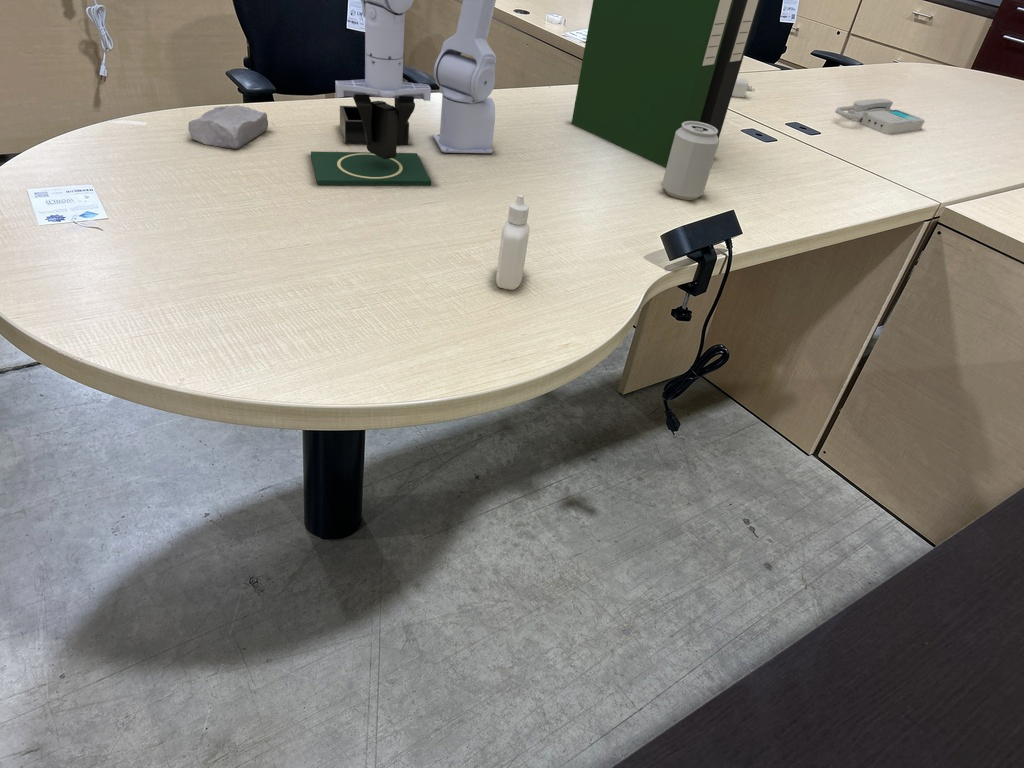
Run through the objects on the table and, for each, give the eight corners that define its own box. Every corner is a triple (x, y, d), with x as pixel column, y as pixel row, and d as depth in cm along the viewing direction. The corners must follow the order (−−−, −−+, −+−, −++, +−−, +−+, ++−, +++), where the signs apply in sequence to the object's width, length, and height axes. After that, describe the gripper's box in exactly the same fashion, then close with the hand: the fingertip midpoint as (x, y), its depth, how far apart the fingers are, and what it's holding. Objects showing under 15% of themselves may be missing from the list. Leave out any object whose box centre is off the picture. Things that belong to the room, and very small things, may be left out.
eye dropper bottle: (482, 280, 97) (493, 195, 90) (509, 267, 101) (520, 184, 94) (508, 293, 95) (520, 207, 88) (534, 280, 99) (548, 196, 92)
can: (704, 191, 133) (724, 125, 126) (699, 205, 128) (719, 137, 120) (664, 181, 135) (681, 115, 128) (657, 195, 129) (675, 126, 122)
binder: (568, 123, 154) (599, -51, 135) (613, 115, 163) (648, -49, 144) (671, 170, 140) (722, -17, 121) (714, 157, 149) (767, -18, 130)
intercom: (827, 101, 181) (885, 96, 194) (820, 119, 184) (878, 112, 196) (873, 119, 173) (930, 112, 185) (865, 137, 175) (922, 129, 188)
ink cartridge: (396, 158, 120) (399, 108, 115) (385, 160, 118) (388, 110, 114) (377, 147, 122) (379, 98, 117) (366, 149, 121) (368, 100, 116)
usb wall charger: (723, 92, 192) (728, 76, 190) (747, 94, 193) (752, 79, 191) (728, 96, 189) (733, 80, 187) (753, 99, 190) (758, 83, 188)
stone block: (186, 150, 122) (241, 150, 120) (178, 121, 120) (233, 120, 118) (224, 132, 132) (274, 131, 130) (216, 104, 129) (268, 103, 127)
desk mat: (416, 157, 129) (417, 152, 128) (431, 185, 120) (431, 180, 119) (310, 155, 123) (310, 150, 122) (317, 185, 114) (317, 179, 114)
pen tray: (400, 129, 139) (401, 107, 136) (408, 145, 133) (409, 122, 130) (339, 127, 135) (339, 105, 133) (345, 143, 129) (345, 121, 127)
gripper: (338, 59, 106) (340, 151, 114) (436, 64, 110) (431, 152, 118) (333, 46, 111) (334, 135, 119) (427, 51, 115) (422, 137, 124)
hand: (382, 143), depth 119 cm, fingers closed on ink cartridge, 4 cm apart
